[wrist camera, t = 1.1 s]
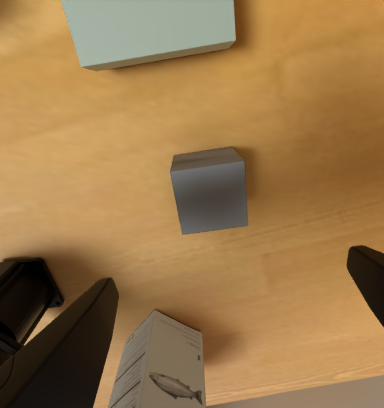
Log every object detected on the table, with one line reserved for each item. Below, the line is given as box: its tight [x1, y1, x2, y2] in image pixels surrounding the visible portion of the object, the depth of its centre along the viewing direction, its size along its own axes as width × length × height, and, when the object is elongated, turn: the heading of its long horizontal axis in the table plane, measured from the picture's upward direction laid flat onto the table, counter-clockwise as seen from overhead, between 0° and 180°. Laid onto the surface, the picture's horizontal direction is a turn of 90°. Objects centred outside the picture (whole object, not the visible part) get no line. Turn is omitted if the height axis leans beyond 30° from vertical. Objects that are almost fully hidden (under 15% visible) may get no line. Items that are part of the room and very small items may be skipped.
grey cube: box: [170, 146, 248, 235], centre depth 19 cm, size 5×5×5 cm
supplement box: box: [108, 310, 206, 408], centre depth 24 cm, size 7×7×13 cm
